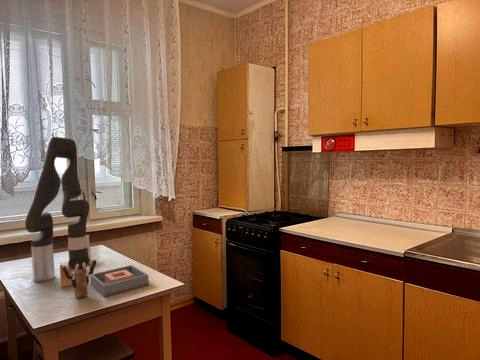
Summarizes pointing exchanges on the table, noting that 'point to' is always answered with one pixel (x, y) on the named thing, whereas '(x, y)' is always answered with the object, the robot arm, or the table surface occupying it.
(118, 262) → the table surface
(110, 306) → the table surface
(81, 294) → the walnut peg
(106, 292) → the walled bin
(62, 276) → the small box
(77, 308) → the table surface
